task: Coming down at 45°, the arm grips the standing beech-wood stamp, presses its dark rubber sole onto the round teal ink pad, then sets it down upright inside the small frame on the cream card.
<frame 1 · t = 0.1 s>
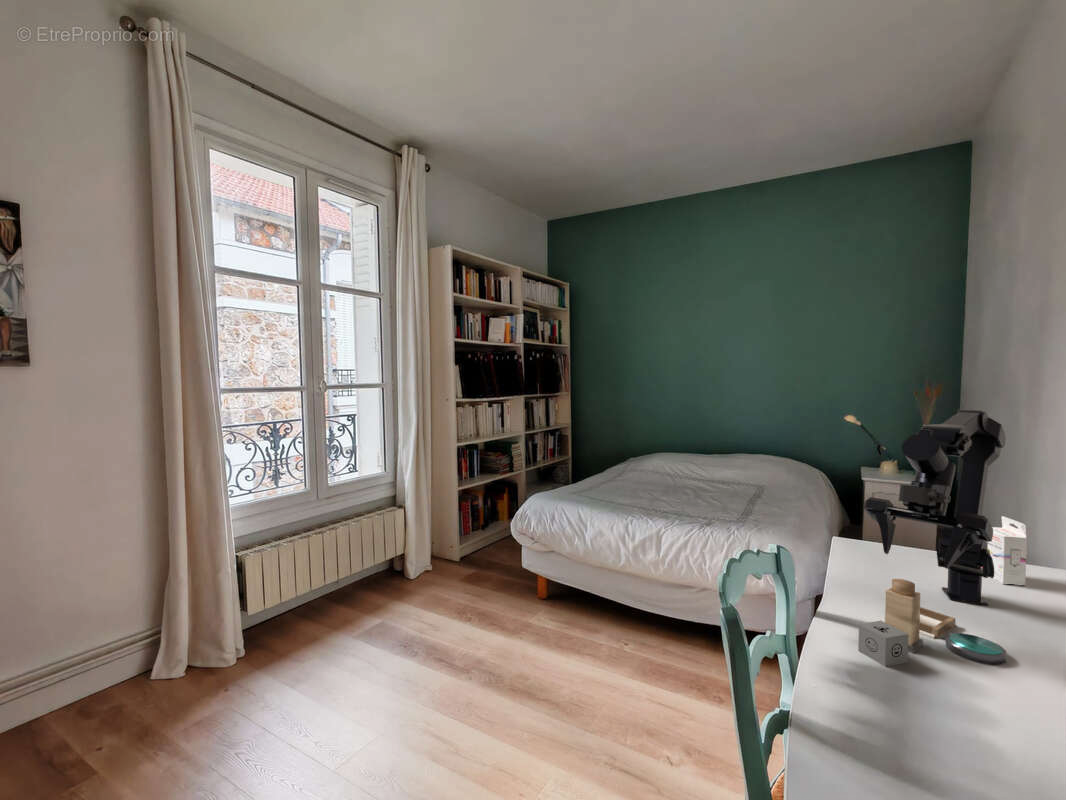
hand: (914, 560, 92), 15 cm above the table, tool tilted 30°, fingers open, 9 cm apart
dice cube: (882, 658, 86), on the table
ink pad: (975, 652, 88), on the table
ink cartridge box: (1001, 579, 121), on the table
stamp: (901, 643, 91), on the table
frame: (919, 622, 99), on the table
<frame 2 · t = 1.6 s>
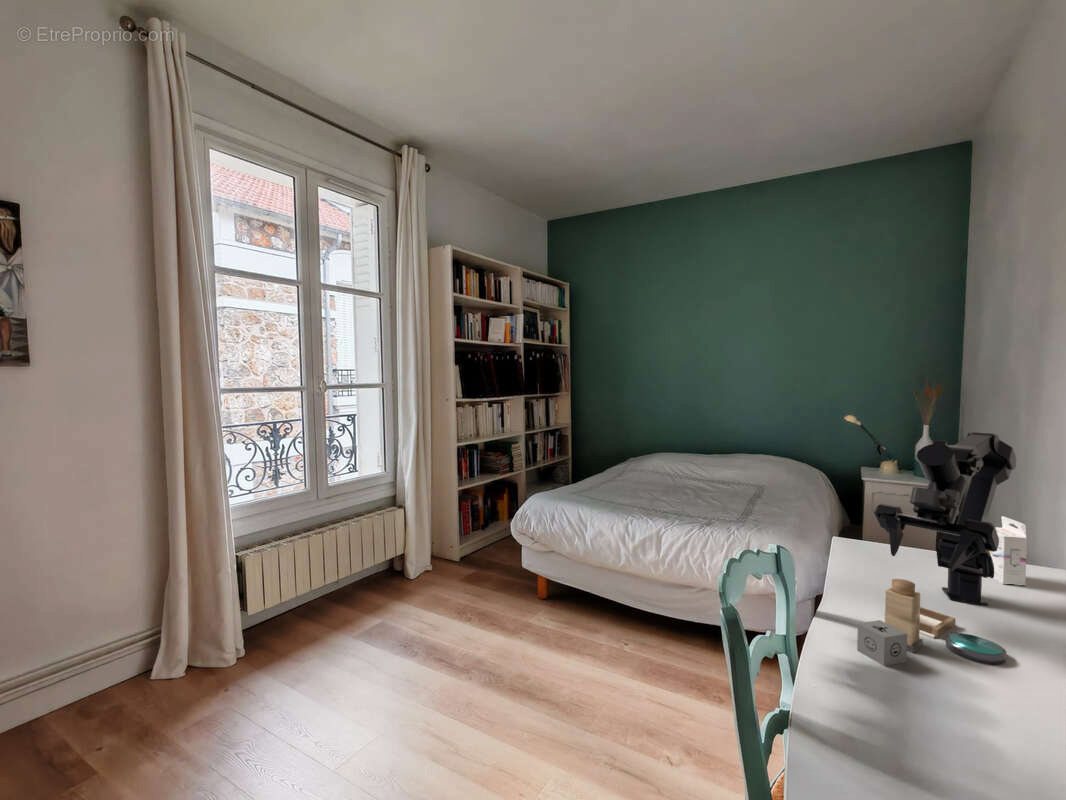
hand: (920, 561, 95), 13 cm above the table, tool tilted 45°, fingers open, 9 cm apart
nothing on the table moved.
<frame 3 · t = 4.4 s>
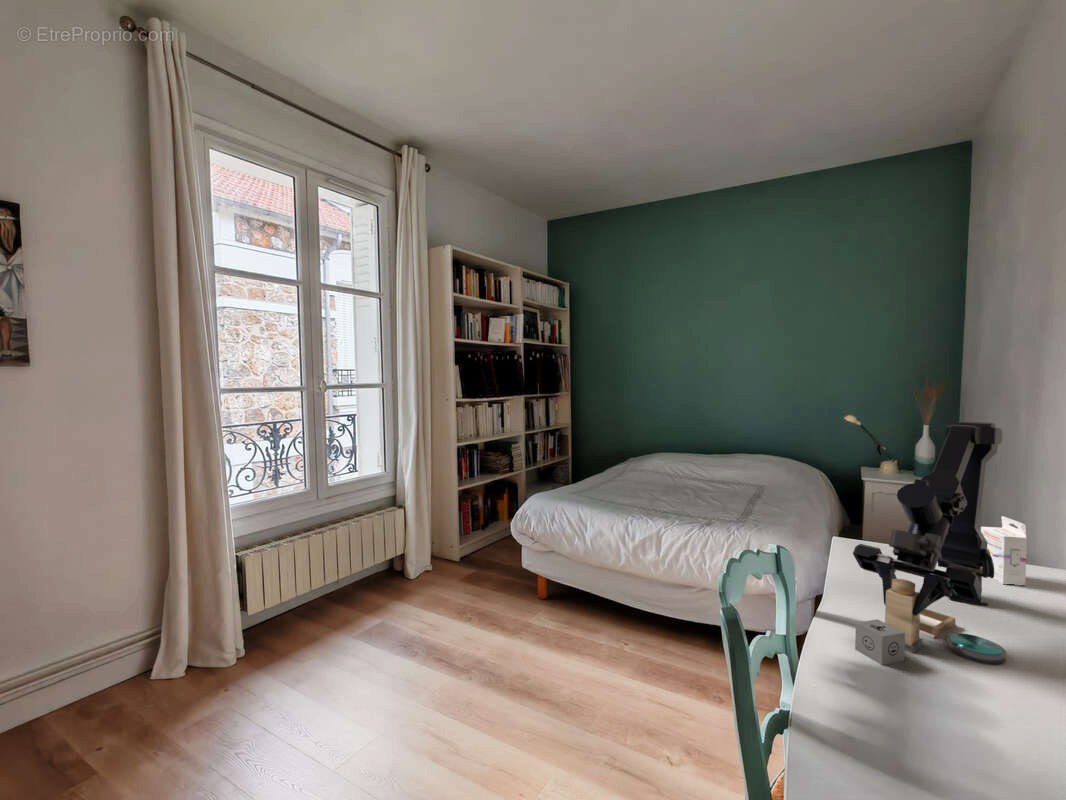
hand: (899, 609, 90), 7 cm above the table, tool tilted 45°, fingers closed on stamp, 4 cm apart
stamp: (901, 643, 91), on the table, touching gripper
everything else where it was.
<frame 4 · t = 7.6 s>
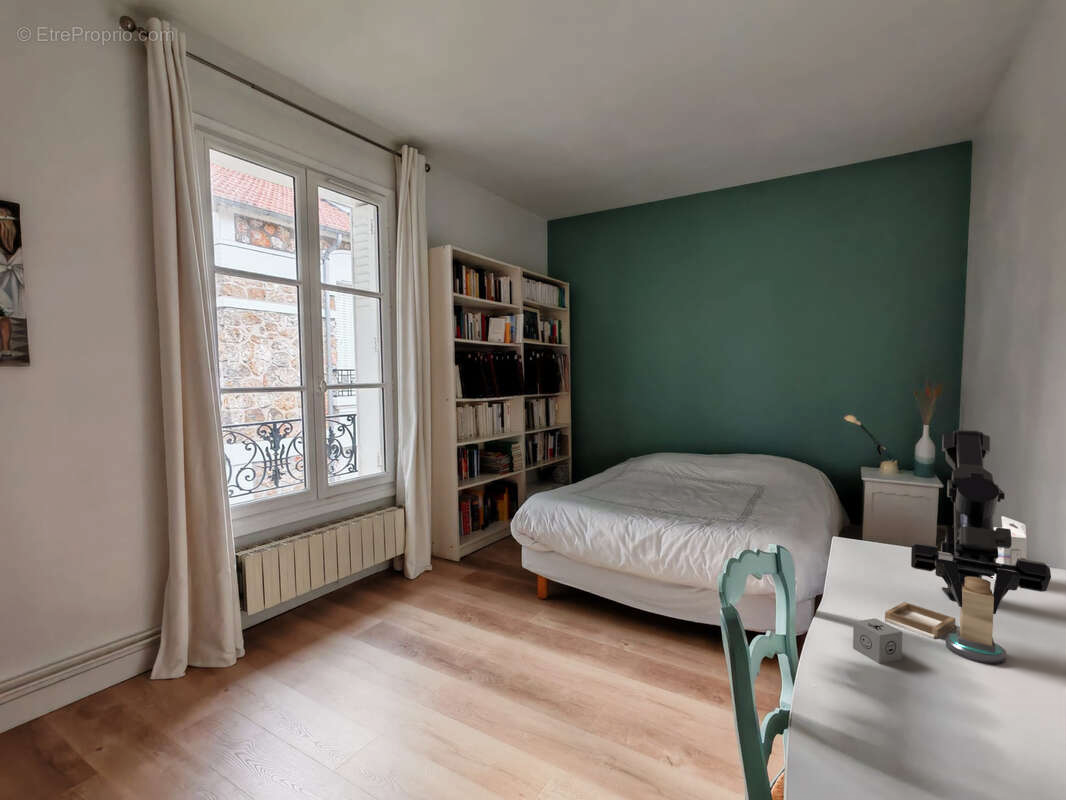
hand: (977, 609, 86), 8 cm above the table, tool tilted 45°, fingers closed on stamp, 4 cm apart
stamp: (975, 642, 88), point 2 cm above the table, touching gripper, ink pad
everything else where it was.
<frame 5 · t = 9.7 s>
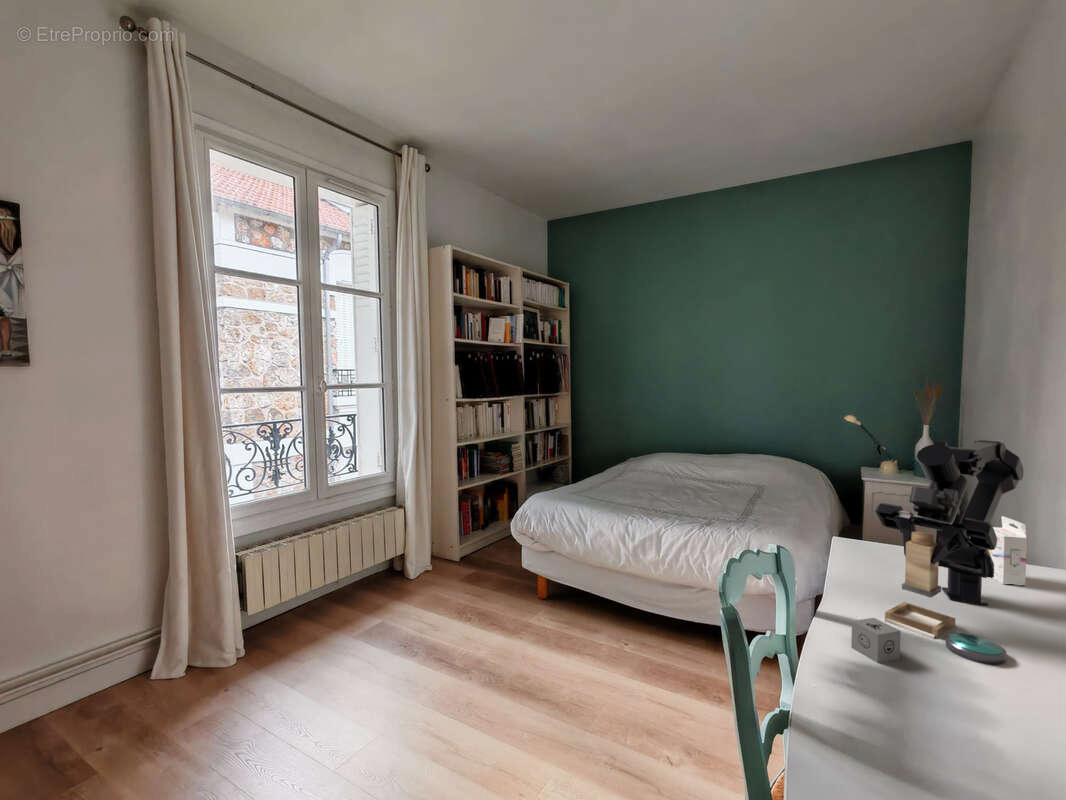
hand: (918, 559, 97), 13 cm above the table, tool tilted 45°, fingers closed on stamp, 4 cm apart
stamp: (921, 590, 98), point 7 cm above the table, touching gripper
when the fingers open (8 cm above the table, at t = 11.1 s): stamp stays where it is, resting on frame.
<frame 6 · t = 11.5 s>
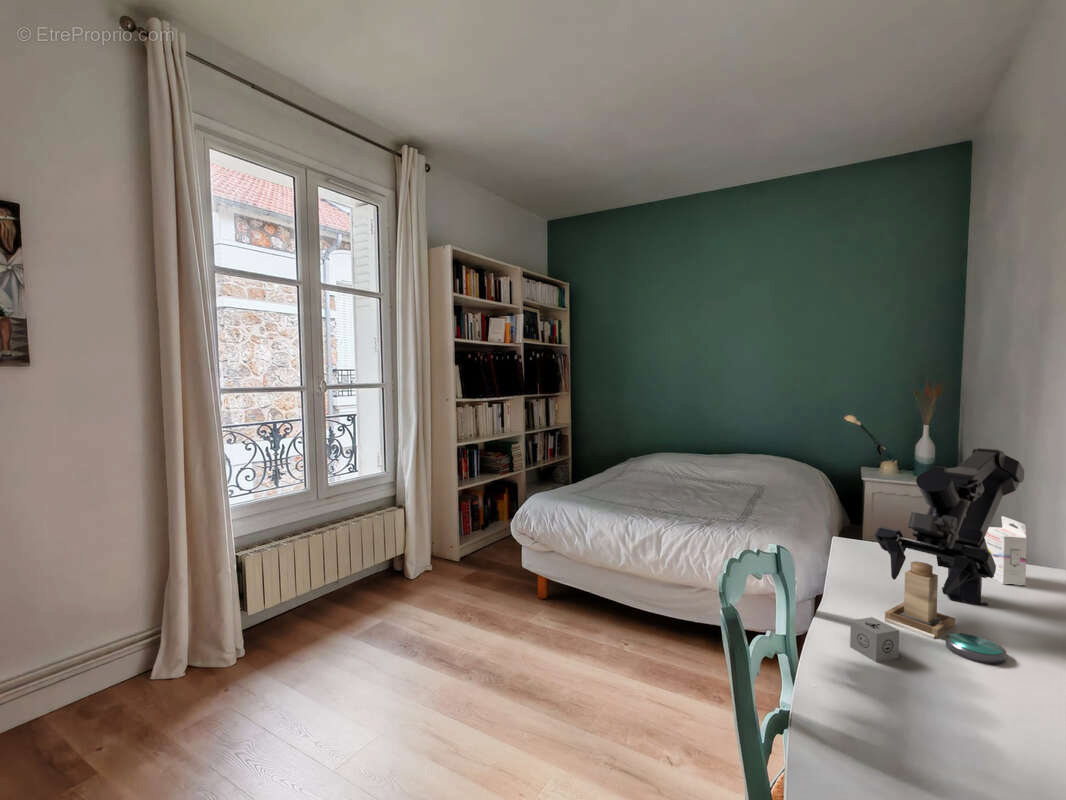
hand: (917, 585, 98), 8 cm above the table, tool tilted 45°, fingers open, 8 cm apart
stamp: (919, 620, 99), resting on frame
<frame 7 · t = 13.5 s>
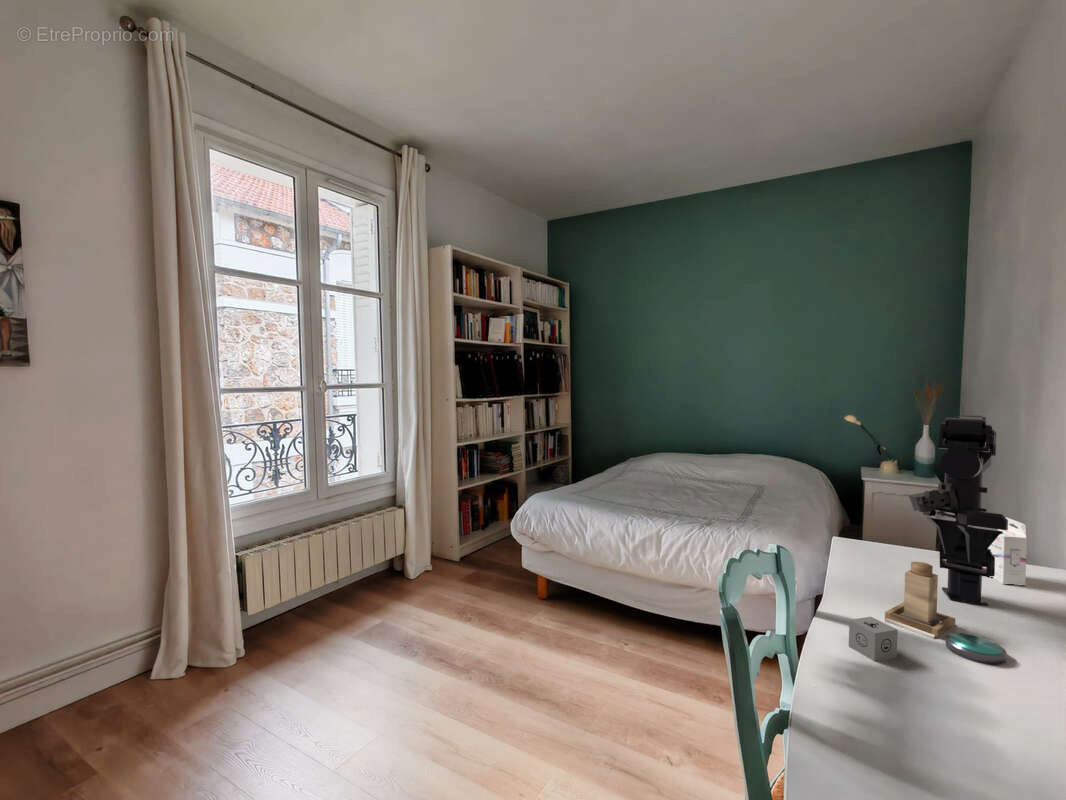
hand: (959, 558, 98), 13 cm above the table, tool pointing down, fingers open, 9 cm apart
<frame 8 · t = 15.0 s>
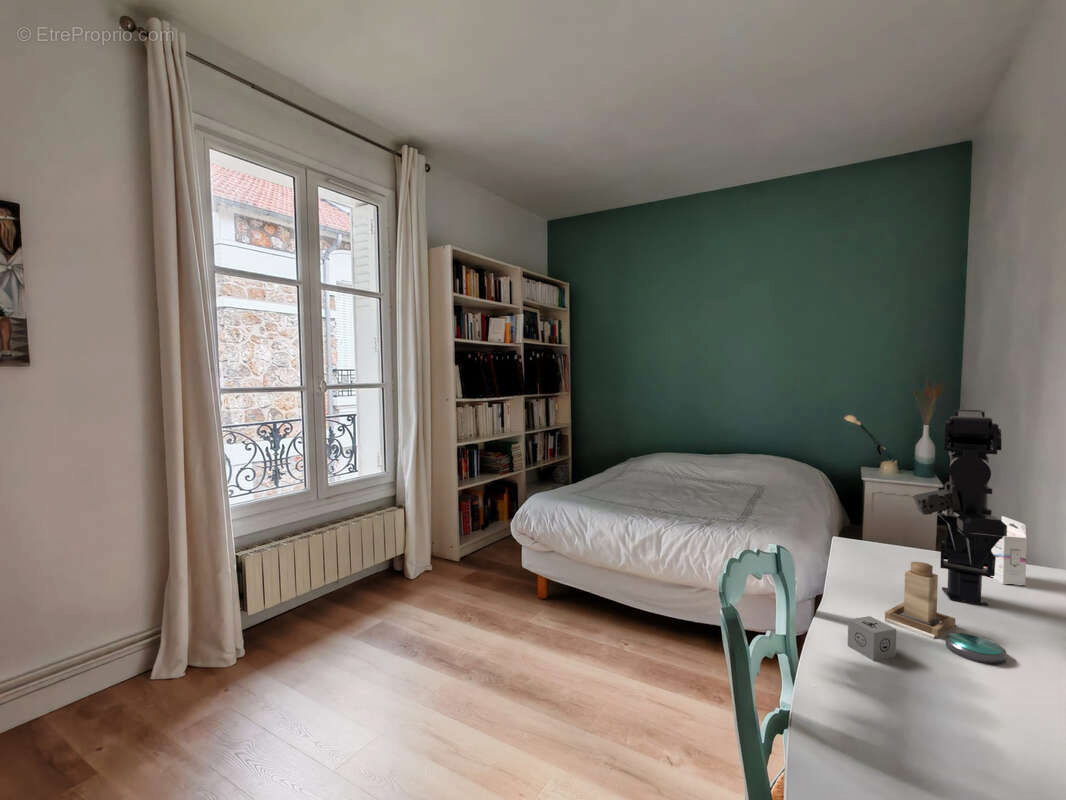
hand: (966, 558, 98), 13 cm above the table, tool pointing down, fingers open, 9 cm apart
at the end: stamp 0.2 cm off-centre on the frame, point 0.4 cm above the frame's base; stamp tilted 0°; the gripper is holding nothing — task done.
